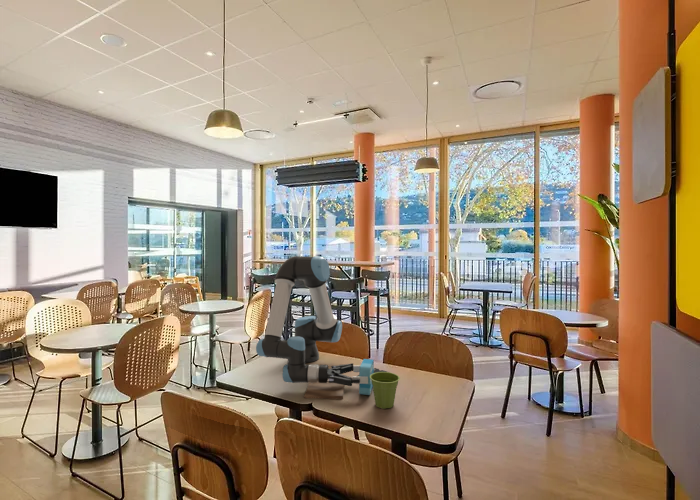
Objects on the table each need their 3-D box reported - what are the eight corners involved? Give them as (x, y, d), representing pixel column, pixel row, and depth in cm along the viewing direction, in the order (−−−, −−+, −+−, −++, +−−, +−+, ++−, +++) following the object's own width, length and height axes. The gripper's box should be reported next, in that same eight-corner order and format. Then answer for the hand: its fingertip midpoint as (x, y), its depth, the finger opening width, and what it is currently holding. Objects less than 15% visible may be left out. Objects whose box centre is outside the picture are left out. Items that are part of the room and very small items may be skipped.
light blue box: (369, 396, 149) (370, 368, 148) (358, 395, 149) (359, 367, 149) (373, 385, 160) (373, 358, 160) (363, 384, 161) (363, 357, 161)
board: (310, 383, 164) (310, 380, 164) (344, 383, 163) (344, 381, 163) (304, 398, 148) (304, 395, 148) (342, 398, 147) (342, 395, 147)
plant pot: (399, 413, 135) (399, 383, 135) (368, 410, 137) (368, 381, 137) (400, 399, 146) (400, 372, 146) (371, 397, 148) (371, 370, 148)
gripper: (322, 371, 168) (367, 372, 167) (314, 394, 143) (368, 394, 142) (322, 356, 168) (367, 356, 167) (314, 375, 143) (368, 376, 142)
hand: (368, 374), depth 155 cm, fingers closed on light blue box, 12 cm apart
